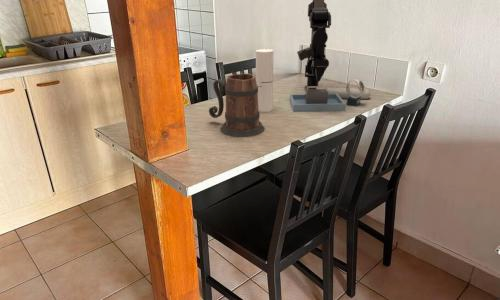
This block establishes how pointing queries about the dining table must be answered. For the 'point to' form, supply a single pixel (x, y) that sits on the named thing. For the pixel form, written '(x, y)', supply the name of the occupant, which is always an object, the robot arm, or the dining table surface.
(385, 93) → the dining table surface
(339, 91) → the tube
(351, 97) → the watch
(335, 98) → the tray
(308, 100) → the caddy
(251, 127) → the tankard
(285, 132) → the dining table surface
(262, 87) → the cylindrical container
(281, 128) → the dining table surface
